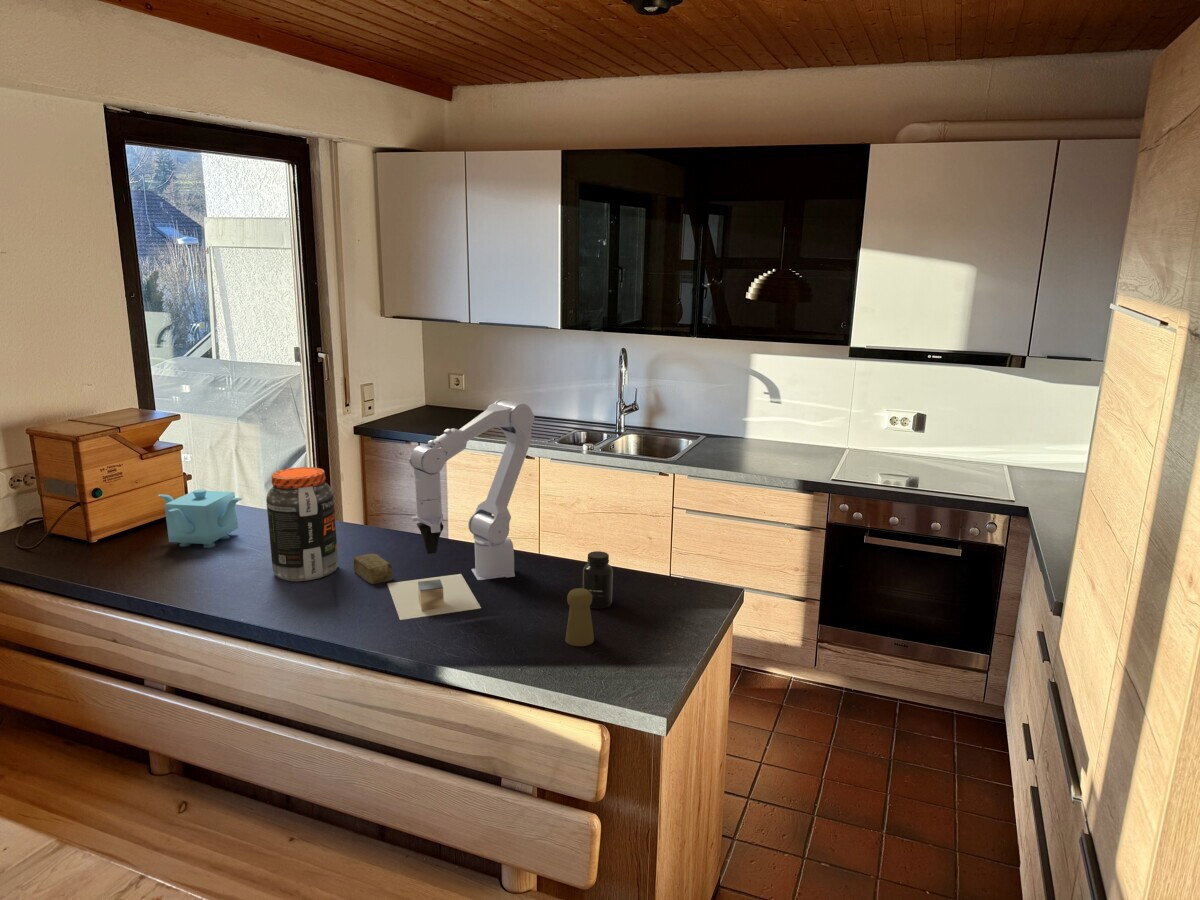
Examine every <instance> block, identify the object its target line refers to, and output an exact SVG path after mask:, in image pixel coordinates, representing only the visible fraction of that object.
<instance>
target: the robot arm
mask: <svg viewBox="0 0 1200 900" xmlns="http://www.w3.org/2000/svg"><path fill="white" fill-rule="evenodd" d="M534 422H535V415H534V413H533V410H532V408H531V407H530V406H529V405H528V404H525V403H519V402H516V401H515V402H514V401H509V400H507V399H503V398H500V399H497V400H495V402H494V403H491V404H489V405H488V406H487V408H486V409H485V410H484V411H483V412H481V413H480V414H478V415H477V416H475V417H474V418H473V419H472V420H470V421H469V422H467V423H466V424H465V425H463V426H462V427H461V428H459V429H458V428H454V427H453V428H446V429H445V430H443V433H442V434H441V435H439V436H437V437H436V438H434V439H433V440H432V439H431V440H428V441H427V444H426V445H424V444H423V445H422V444H421V445H418V446H416V447H415V448H414V449H413V450H412V452H411V453H410V457H409V458H408V462H409V464H410V466H411V468H413V471H414V472H413V473H414V484H415V486H414V487H415V488H414V489H415V500H416V501H415V502H416V504H415V505H416V514H415V515H412V516H411V519H412V521H413V522H417V523H416V526H417V528H418V530H419V531H420V535H421V536H422V540H423V544H424V548H425V551H426V554H428V555H430V554H436V553H437V551H438V546H439V540H440V537H441V535H442V532H443V530H444V524H443V522H442V520H443V518H444V514H443V505H442V488H441V485H442V484H441V471H442V470H443V468H444V466H445V463H446V462H448V461H449V460H450V459H452V458H453V457H455V456H456V455H458V454H459V453H461V452H463V451H464V450H466V448H467V444H468V442H469V441H471V440H473V439H475V438H476V437H478V436H480V435H482V434H483V433H485V432H486V431H489V430H490V429H492V428H493V427H497V428H499V429H500V430H501V431H502V432H503V434H504V436H505V439H506V441H507V442H506V444H505V446H504V450H503V452H502V456H501V458H500V461H499V463H498V467H497V470H496V472H495V474H494V477H493V480H492V482H491V484H490V488H489V491H488V494H487V496H486V499H485V500H484V501H482V502H480V503H479V504H478V505H477V508H476V509H475V511H474V513H473V514H471V516H470V517H469V520H468V524H467V525H468V529H469V532H470V534H472V535H473V536H472V537H473V540H474V563H475V564H474V566H475V567H474V568H471V571H472V573H473V575H474V577H475V578H476V580H477V581H483V580H491V579H498V578H514V577H516V574H515V552H514V551H515V550H514V544H513V540H512V539H511V538H508V536H509V533H510V523H511V519H512V516H511V513H510V511H509V508H508V506H509V503H510V501H511V497H512V495H513V493H514V490H515V486H516V484H517V481H518V478H519V475H520V472H521V470H522V467H523V465H524V462H525V458H526V456H527V453H528V451H529V448H530V445H531V442H532V427H533V424H534Z"/></svg>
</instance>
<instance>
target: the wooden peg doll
mask: <svg viewBox="0 0 1200 900" xmlns="http://www.w3.org/2000/svg"><path fill="white" fill-rule="evenodd" d="M566 598H567V599H566V601H567V604H568V606H569V611H568V619H567V625H566V633H565V643H566V644H568V645H570V646H574V647H586V646H589V645H590V646H591V644H593V643H594V641H595V636H594V629H593V628H594V627H593V621H592V612H591V608H590V605H591V603H592V594H591V593H590V591H589V590H587V589H583V587H582V588H581V587H580V588H573V589H571V590H570V591H569V592H568V593H567V597H566Z"/></svg>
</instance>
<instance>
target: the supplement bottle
mask: <svg viewBox="0 0 1200 900" xmlns="http://www.w3.org/2000/svg"><path fill="white" fill-rule="evenodd" d="M609 558H610V554H609V553H608V552H605V551H601V550H595V551H591V552H589V553H588V554H587V564H585V565H584V567H583V569H582V570H583V571H582V588H583V589H587V590H589V591H590V593H591V594H592V603H591V605H590V609H593V610H599V609H606V608H608V607H610V606H611V605H612V603H613V582H614V581H613V580H614V579H613V577H614V570H613V567H612V565H610V564H609V563H610V560H609Z"/></svg>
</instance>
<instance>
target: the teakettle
mask: <svg viewBox="0 0 1200 900" xmlns="http://www.w3.org/2000/svg"><path fill="white" fill-rule="evenodd" d="M235 493H236V492H235V491H222V490H220V491H219V490H206V489H205V488H204V489H202V488H201V489H200V488H199V489H196V490H193V491H191V492H188V493H185V494H184V495H181V496H180V497H177V498H175V499H174V497H172V496H171V495H169V494H162V493H161V494H158V497H160V498H162V499H163V500H164V501H165V502H166V503H164V512H165V521H166V527H167V535H168V543H179V547H181V548H183V547H184V548H185V547H189V546H191V545H192V544H196V545H198V544H199V545H203V548H204V549H211V548H214V547H216V541H218V540H227V539H230V538H231V536H230V535H229V534H230V533H232V532H234V531H235V530H238V529H239V524H238V514H237V511H238V510H237V503H238V502H240V501H241V500H243V498H244V497H236V495H235Z"/></svg>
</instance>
